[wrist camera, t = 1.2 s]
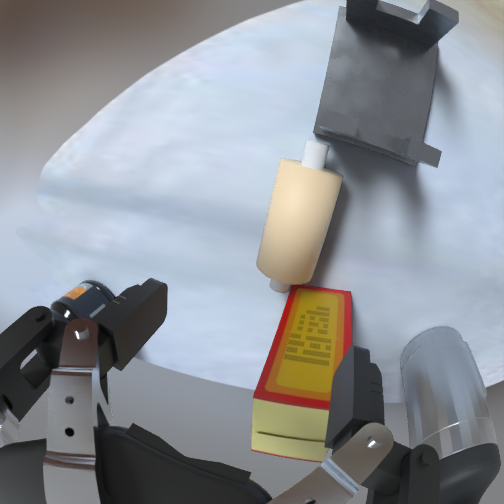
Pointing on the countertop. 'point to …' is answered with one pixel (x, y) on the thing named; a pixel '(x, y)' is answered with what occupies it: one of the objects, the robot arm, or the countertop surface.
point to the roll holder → (383, 78)
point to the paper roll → (298, 218)
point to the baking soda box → (301, 374)
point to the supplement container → (81, 302)
